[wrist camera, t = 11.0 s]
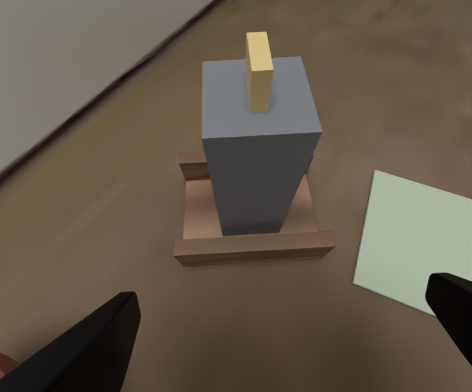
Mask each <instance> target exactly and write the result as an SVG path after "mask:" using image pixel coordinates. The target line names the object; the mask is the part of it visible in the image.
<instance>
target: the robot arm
mask: <svg viewBox="0 0 472 392" xmlns="http://www.w3.org/2000/svg"><path fill="white" fill-rule="evenodd" d="M425 299H426V302H427V304H428V305H429V307H430V308H431V310H432V311H433V313H434V314H435V315H436V317H437V318H438V320H439V321H440V323H441V324H442V326H443V327H444V328H445V330H446V331H447V333H448V334H449V336H450V337H451V339H452V340H453V342H454V343H455V344H456V346H457V347H458V349H459V350H460V351H461V353H462V354H463V355H464V357H465V358H466V359H467V361H468V362H469V363H470V364H471V366H472V281H470V280H467V279H464V278H461V277H459V276H456V275H453V274H450V273H447V272H440V273H432V274H431V275H430V276H429V279H428V284H427V288H426V293H425ZM140 319H141V313H140V308H139V303H138V299H137V295H136V293H135V292H134V291H129V292H121V293H119V294H117V295H116V296H115V297H113V298H112V299H111V300H109V301H108V302H106V303H105V304H104V305H102V306H101V307H99V308H98V309H97V310H95V311H94V312H92V313H91V314H90V315H88V316H87V317H86V318H84V319H83V320H81V321H80V322H79V323H77V324H76V325H74V326H73V327H72V328H70V329H69V330H67V331H66V332H65V333H63V334H62V335H61V336H59V337H58V338H56V339H55V340H54V341H52V342H51V343H49V344H48V345H47V346H45V347H44V348H42V349H41V350H40V351H38V352H37V353H35V354H34V355H33V356H31V357H30V358H28V359H27V360H26V361H24V362H23V363H22V364H20V365H19V366H17V367H16V368H15V369H13V370H12V371H10V372H9V373H8V374H6V375H5V376H3V377H2V378H1V379H0V392H120V390H121V387H122V384H123V382H124V379H125V376H126V372H127V369H128V365H129V361H130V358H131V354H132V350H133V346H134V343H135V339H136V335H137V331H138V327H139V324H140Z"/></svg>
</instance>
